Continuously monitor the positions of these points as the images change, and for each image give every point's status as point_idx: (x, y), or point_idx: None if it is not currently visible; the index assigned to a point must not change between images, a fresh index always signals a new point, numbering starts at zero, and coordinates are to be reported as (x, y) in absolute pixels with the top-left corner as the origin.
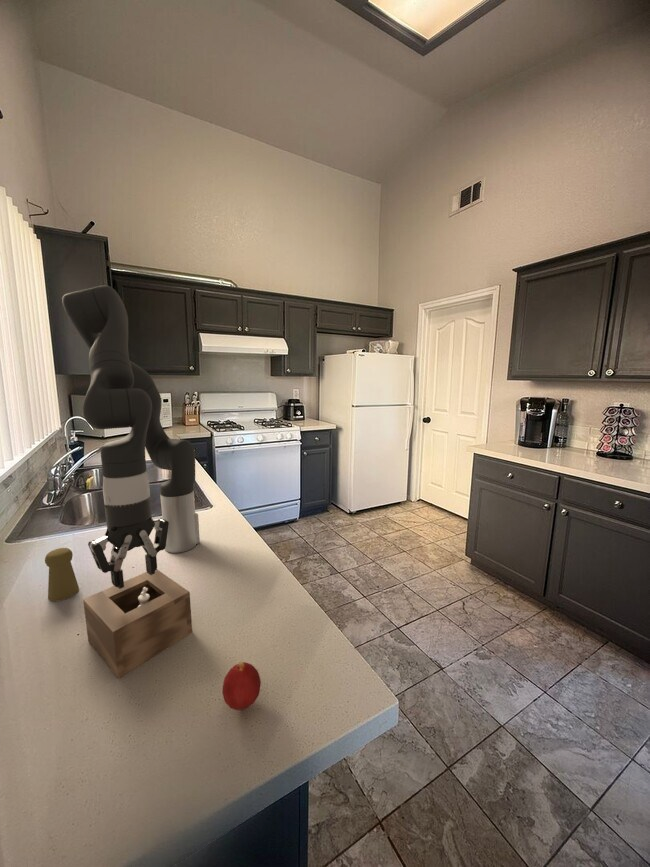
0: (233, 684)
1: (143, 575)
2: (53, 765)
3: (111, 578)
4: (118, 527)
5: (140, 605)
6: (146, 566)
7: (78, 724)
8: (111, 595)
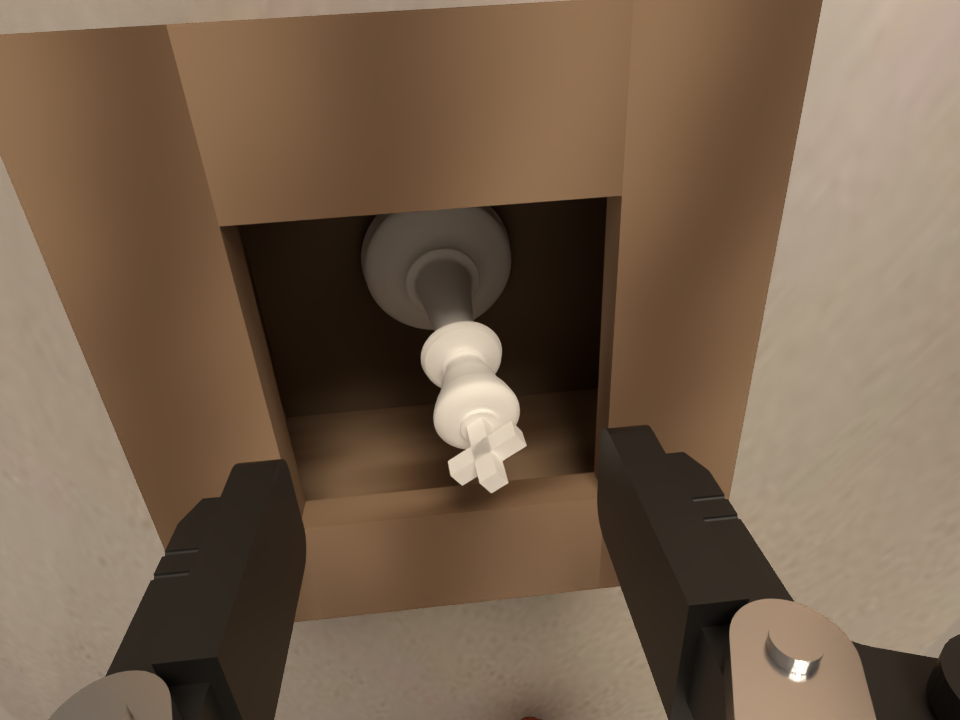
0: None
1: (644, 54)
2: (55, 599)
3: (157, 577)
4: None
5: (447, 363)
6: (623, 480)
7: (119, 526)
8: (250, 215)
